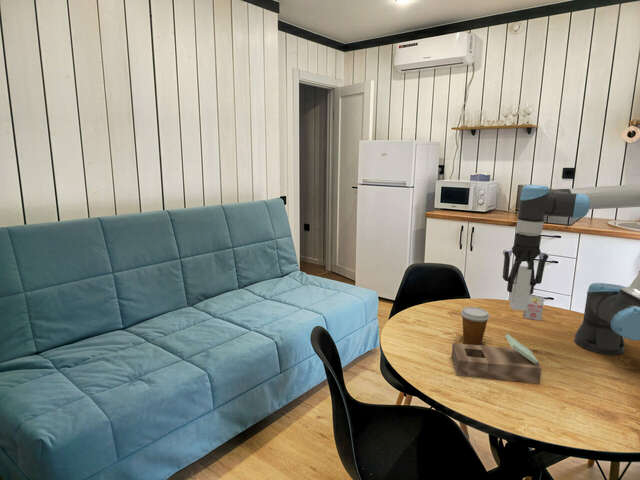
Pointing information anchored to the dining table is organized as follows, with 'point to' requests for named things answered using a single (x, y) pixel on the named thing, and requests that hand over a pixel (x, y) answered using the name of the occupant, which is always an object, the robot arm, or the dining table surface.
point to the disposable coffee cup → (474, 325)
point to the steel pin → (521, 288)
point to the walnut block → (494, 363)
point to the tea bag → (534, 308)
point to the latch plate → (521, 349)
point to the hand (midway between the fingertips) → (518, 301)
